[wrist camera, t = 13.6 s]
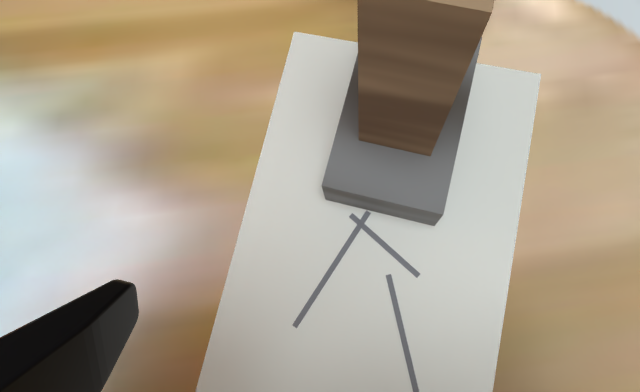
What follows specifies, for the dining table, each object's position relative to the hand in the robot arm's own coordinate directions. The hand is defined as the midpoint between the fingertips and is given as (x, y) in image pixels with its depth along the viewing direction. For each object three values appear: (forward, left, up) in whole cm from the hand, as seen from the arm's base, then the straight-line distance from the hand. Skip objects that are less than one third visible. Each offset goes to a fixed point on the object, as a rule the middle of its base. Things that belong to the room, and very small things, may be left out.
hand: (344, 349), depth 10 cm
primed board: (+3, -1, -14) cm, 14 cm away
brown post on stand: (+9, -2, -12) cm, 15 cm away
